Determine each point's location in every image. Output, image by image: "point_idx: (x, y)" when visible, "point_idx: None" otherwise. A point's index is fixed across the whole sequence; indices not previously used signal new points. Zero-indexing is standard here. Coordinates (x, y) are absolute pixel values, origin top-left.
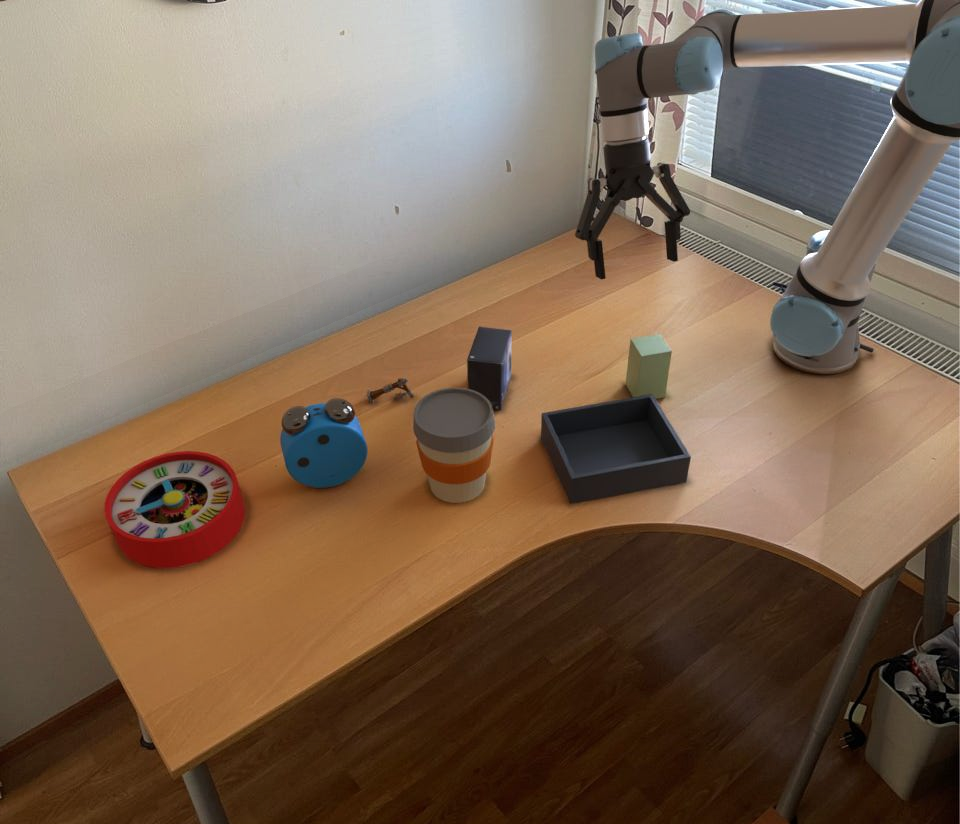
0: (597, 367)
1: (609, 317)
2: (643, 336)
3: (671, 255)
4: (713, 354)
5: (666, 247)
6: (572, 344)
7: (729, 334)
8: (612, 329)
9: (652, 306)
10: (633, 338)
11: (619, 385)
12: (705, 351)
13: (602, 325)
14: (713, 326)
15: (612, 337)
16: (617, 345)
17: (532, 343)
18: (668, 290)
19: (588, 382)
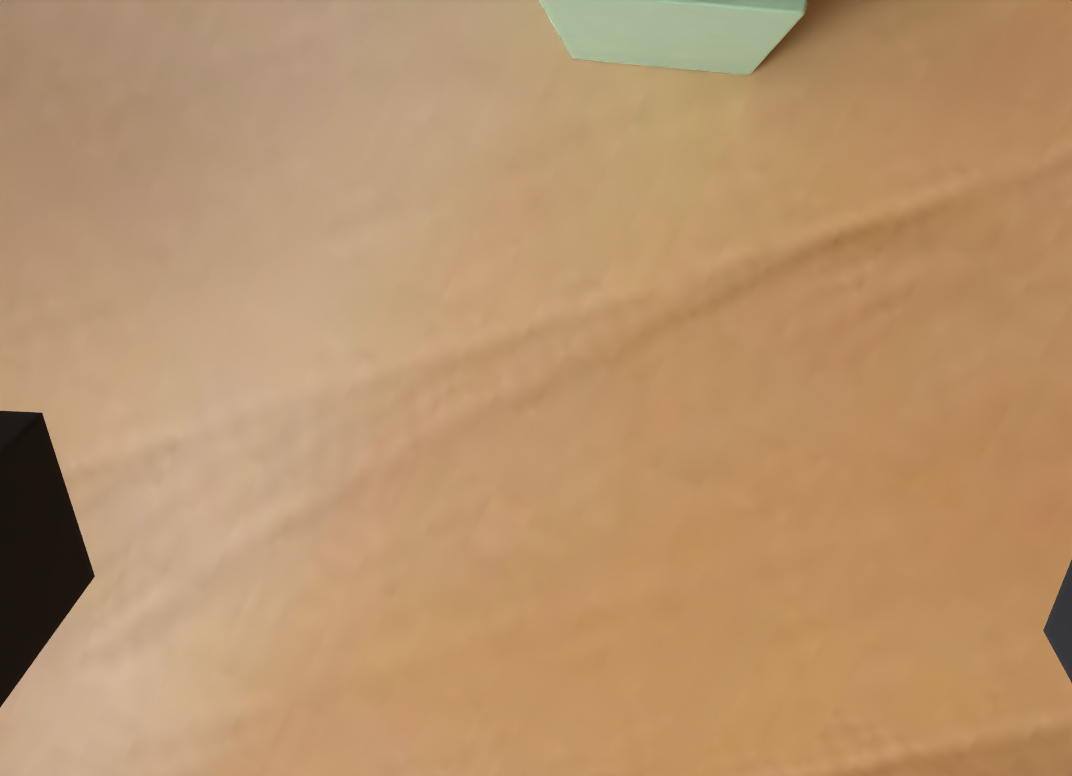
0: (821, 292)
1: (533, 682)
2: (684, 1)
3: (16, 514)
4: (155, 157)
5: (7, 687)
6: (845, 546)
7: (2, 293)
8: (569, 581)
9: (277, 676)
10: (781, 2)
11: (787, 79)
12: (184, 199)
13: (603, 634)
14: (52, 391)
15: (603, 516)
16: (612, 438)
17: None
18: (142, 762)
19: (946, 176)
